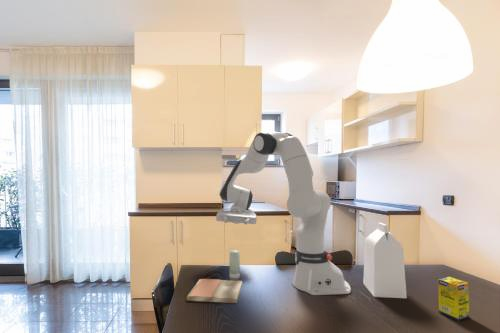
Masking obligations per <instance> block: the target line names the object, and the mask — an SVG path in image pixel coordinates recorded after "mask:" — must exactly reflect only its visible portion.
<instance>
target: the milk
mask: <svg viewBox="0 0 500 333" xmlns="http://www.w3.org/2000/svg"><path fill="white" fill-rule="evenodd" d="M363 255H364V256H363V285H364V286H365V288H366V289H367V290H368V291H369V292H370V294H371V295H372V296H373V297H374V298H389V299H390V298H394V299H395V298H396V299H408V298H407V282H406V272H405V271H406V270H405V260H404V258H405V257H404V256H405V255H404V248H403V246H402V244H401V243H400V242H399V241H398V240H397V239H396V236H395V235H394V234H393V233H392V232H390V231H389V226H388V224H385V223H383V222H377V225H376V229H374V231H372V232H371V233H370V234H369V235H367V236H366V238H365V240H364V254H363Z"/></svg>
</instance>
